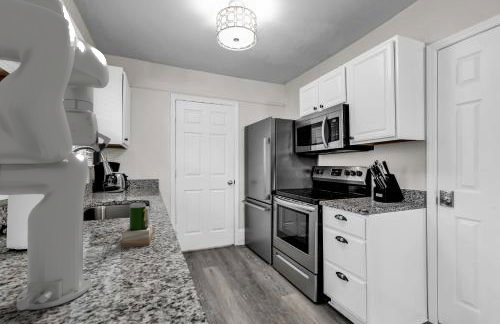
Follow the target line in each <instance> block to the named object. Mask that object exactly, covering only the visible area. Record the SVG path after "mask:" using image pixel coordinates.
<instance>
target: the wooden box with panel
mask: <svg viewBox="0 0 500 324" xmlns="http://www.w3.org/2000/svg"><path fill="white" fill-rule="evenodd" d="M155 230H156V229H155V227H153V224H150V206H149V205H148V206H147V205H146V230H138V231H130V225H128V226H126V227H125V229H123V231H122V232H121V241H120V248H131V247H132V248H133V247H134V248H135V247H144V246H145V247H146V246H150V245H151V242H152V239H153V238H154V235H155Z"/></svg>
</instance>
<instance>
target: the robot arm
mask: <svg viewBox="0 0 500 324" xmlns="http://www.w3.org/2000/svg"><path fill="white" fill-rule="evenodd" d="M0 61H6V62H13V63H15V62H16V63H20V64H19V65H18V67H17V68H16V69H15V70H13V71H12V72H10V73H9V74H7V75H6V76H5V77H4V78H2V80H1V81H0V196H18V195H21V196H22V195H44V196H43V197H42V199H41V200H40V201H39V202H38V203H37V204H36V205H35V206H34V207H33V208H32V209H31V210H30V212H29V214H28V217H27V252H26V253H27V263H26V265H27V266H26V269H27V270H26V276H27V278H26V280H27V281H26V282H27V284H26V289H25V290H23V291H21V293H19V294H18V295H17V297H16V306H15V307H16V308H17V310H19V311H24V310H29V311H30V310H31V311H33V310H41V309H47V308H51V307H52V308H53V307H55V306H56V307H57V306H59V305H63V304H65V303H68V302H70V301H72V300H75V299H76V298H78V297H80V296H82V295H83V294H85V293H86V292H88V290H89V289H90V288H91V284H92V283H91V281H92V279H91V278H90V277H89V276H87V275H84V272H83V271H84V270H83V269H84V268H83V267H84V266H83V265H84V263H83V262H84V202H85V201H84V199H85V192H86V191H85V190H86V186H87V185H86V184H87V180H88V174H89V162H88V160H87V159H86V157H85V156H84V155H83V154H81V153H79V152H77V151H72V150H73V146H80V147H88V146H89V147H91V148H93V150H94V151H93V152H92V153H93V154H92V158H93V159H92V162H93V163H92V164H93V165H95V166H97V165H100V163H101V161H102V152H103V151H104V150H105V149H106V148H107V147H108V145H109V144H110V142H111V141H112V140H111V139H112V138H110V137H109V136H106V135H105V134H103V133H100V132H99V124H98V119H97V116H96V113H94V89H104V88H106V87H107V86H108V84H109V81H110V72H109V71H110V70H109V68H108V67H109V66H108V62H107V59H106V58H105V56H104V54H103V53H102V52H101V51H100V50H99V49H97V48H96V47H94V46H92V45H91V44H89V43H88V42H87V41H84V40H83V39H81V38H80V37H78V35H77V34H76V30H75V27H74V25H73V23H72V20H71V17H70V16H69V13H68V11H67V9H66V6H64V4H63V3H62V1H61V0H0ZM99 139H101V140H103V142H102V143H101V144H100V145H99V142H100V141H99Z"/></svg>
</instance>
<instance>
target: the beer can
mask: <svg viewBox="0 0 500 324" xmlns="http://www.w3.org/2000/svg"><path fill="white" fill-rule="evenodd" d="M146 206H147V205H146V202H132V203H130V204H129V226H130V231H138V230H146Z"/></svg>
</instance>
